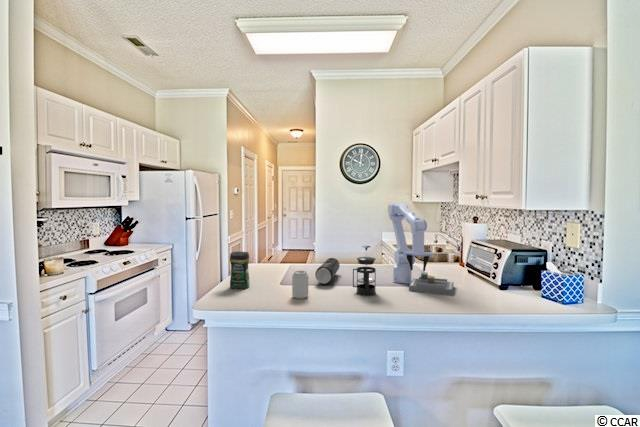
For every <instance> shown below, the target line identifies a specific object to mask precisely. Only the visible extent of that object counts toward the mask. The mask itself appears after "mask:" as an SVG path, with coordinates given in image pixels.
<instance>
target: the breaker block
mask: <svg viewBox="0 0 640 427" xmlns="http://www.w3.org/2000/svg"><path fill="white" fill-rule="evenodd" d="M428 276H429V273H428V272H426V271H421V272H420V276H418V278H413V279H411V280H412V282H411V283H410V284H409V285H408V291H409V292H415V291H418V293H425V292H429V293H428V294H434V293H437V295H444V294H445V296H453V292H454V286H455V285H454V281H448V279H447V278H440V277H439V278H436V277H435V284H432V283H428Z"/></svg>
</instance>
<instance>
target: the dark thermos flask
mask: <svg viewBox="0 0 640 427" xmlns="http://www.w3.org/2000/svg"><path fill="white" fill-rule="evenodd" d="M340 266H341V265H340V262H339V260H338V259H336V258H334V257H329V258H327V259H326V260H325V261H324V262H323V263H322V264H321V265H320V266H319V267H318V268H317V269H316V271H315V279H316V281H317V282H318V283H320V284H322V285H328V284H329V283H331V282H332V281H333V280H334V278H335V276H336V274H337V272H338V271H339V269H340Z"/></svg>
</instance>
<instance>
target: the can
mask: <svg viewBox="0 0 640 427" xmlns="http://www.w3.org/2000/svg"><path fill="white" fill-rule="evenodd" d="M291 276H292V277H291V279H292V281H291V282H292V285H291V289H292V290H291V291H292V293H291V295H292V297H293V298H294V299H297V300H303V299H307V297H308V296H309V274H308V272H307V271H306V270H295V271H293V274H292V275H291Z"/></svg>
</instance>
